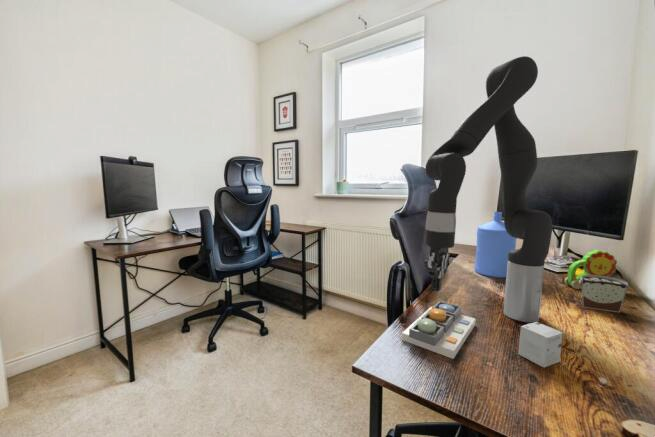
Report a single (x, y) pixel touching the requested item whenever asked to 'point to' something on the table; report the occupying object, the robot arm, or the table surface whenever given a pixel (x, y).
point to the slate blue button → (447, 308)
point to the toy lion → (591, 267)
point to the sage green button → (427, 326)
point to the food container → (603, 292)
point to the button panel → (442, 332)
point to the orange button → (437, 315)
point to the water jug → (493, 248)
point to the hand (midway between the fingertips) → (435, 290)
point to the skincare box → (540, 344)
